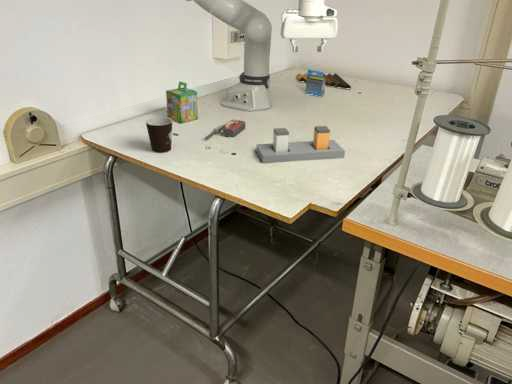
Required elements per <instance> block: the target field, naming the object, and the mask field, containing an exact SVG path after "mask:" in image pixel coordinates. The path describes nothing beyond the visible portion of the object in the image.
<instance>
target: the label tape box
mask: <svg viewBox="0 0 512 384" xmlns="http://www.w3.org/2000/svg"><path fill="white" fill-rule="evenodd" d="M306 72H307V73H306V74H307V83H306V82H305V83H306V85H305V94H306V93H307V94H313V95H312V96H314V95H317V96H316V97H319V96H322V97H324V96H325V92H326V91H325V90H326V86H325V81H326V79H325V78H323V74H325V73H324V71H318V70H315V69H307V71H306ZM316 74H318V75H316ZM307 94H306V95H307ZM323 95H324V96H323Z"/></svg>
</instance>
